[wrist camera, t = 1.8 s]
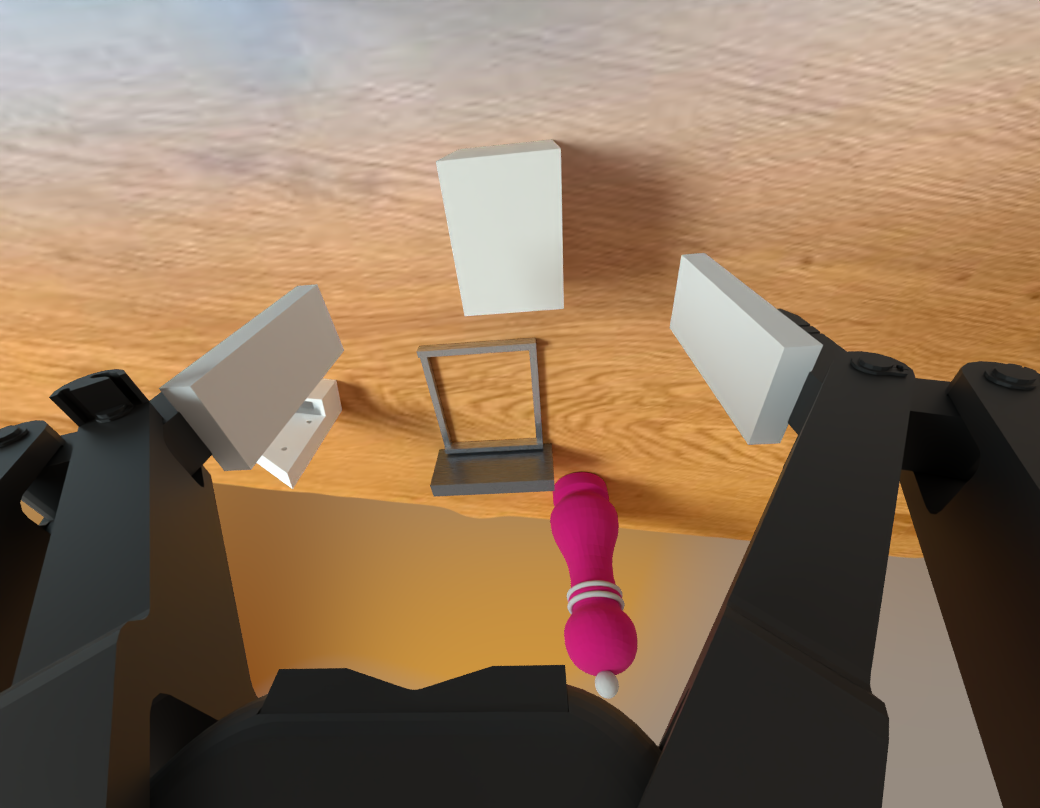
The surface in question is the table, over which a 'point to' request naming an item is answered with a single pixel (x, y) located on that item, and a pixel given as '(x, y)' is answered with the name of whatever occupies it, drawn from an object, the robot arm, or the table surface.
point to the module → (505, 225)
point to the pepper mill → (592, 580)
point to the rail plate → (495, 460)
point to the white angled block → (303, 434)
